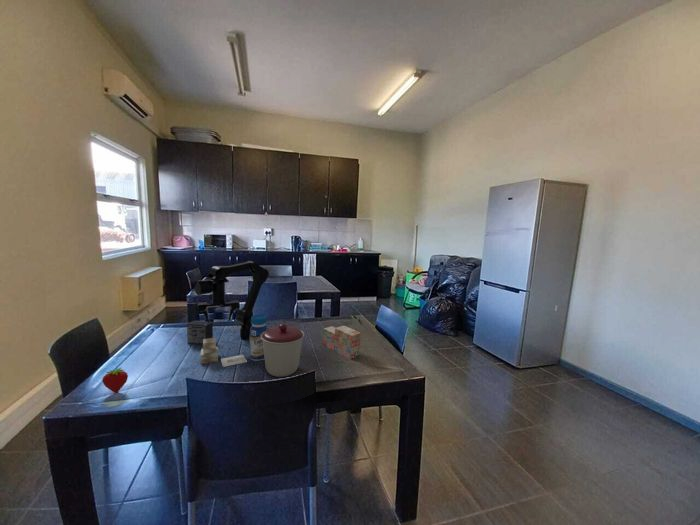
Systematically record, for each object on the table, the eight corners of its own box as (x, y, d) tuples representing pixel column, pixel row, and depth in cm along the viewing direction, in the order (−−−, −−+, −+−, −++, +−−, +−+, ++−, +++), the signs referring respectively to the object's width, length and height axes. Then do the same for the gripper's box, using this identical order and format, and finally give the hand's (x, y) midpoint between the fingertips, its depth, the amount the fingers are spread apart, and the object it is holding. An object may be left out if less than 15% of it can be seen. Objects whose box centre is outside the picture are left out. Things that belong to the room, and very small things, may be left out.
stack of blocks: (322, 345, 153) (323, 322, 152) (331, 342, 158) (332, 320, 156) (350, 359, 138) (351, 335, 136) (359, 356, 142) (361, 332, 141)
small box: (213, 340, 153) (213, 321, 151) (206, 345, 146) (206, 325, 145) (195, 338, 154) (194, 319, 152) (186, 343, 147) (186, 323, 146)
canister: (305, 361, 134) (307, 317, 131) (300, 382, 116) (301, 332, 113) (266, 360, 134) (267, 316, 131) (254, 381, 116) (254, 331, 113)
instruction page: (243, 354, 138) (243, 354, 138) (246, 362, 131) (246, 361, 131) (220, 359, 132) (220, 358, 132) (223, 367, 126) (223, 366, 126)
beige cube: (215, 347, 135) (215, 337, 134) (215, 352, 130) (215, 341, 130) (203, 349, 133) (203, 338, 132) (203, 353, 128) (203, 343, 128)
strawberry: (109, 388, 107) (107, 362, 105) (132, 386, 108) (130, 361, 107) (98, 397, 101) (96, 371, 100) (123, 396, 103) (121, 369, 101)
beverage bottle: (262, 351, 142) (262, 312, 139) (271, 357, 136) (271, 317, 134) (246, 356, 136) (246, 315, 134) (254, 363, 130) (254, 320, 128)
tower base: (218, 354, 137) (218, 346, 136) (218, 361, 130) (217, 353, 130) (201, 356, 134) (201, 348, 133) (200, 363, 128) (200, 355, 127)
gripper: (238, 287, 154) (238, 315, 156) (198, 289, 146) (199, 318, 148) (239, 292, 144) (239, 322, 146) (196, 294, 136) (197, 326, 138)
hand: (219, 322), depth 145 cm, fingers open, 9 cm apart
